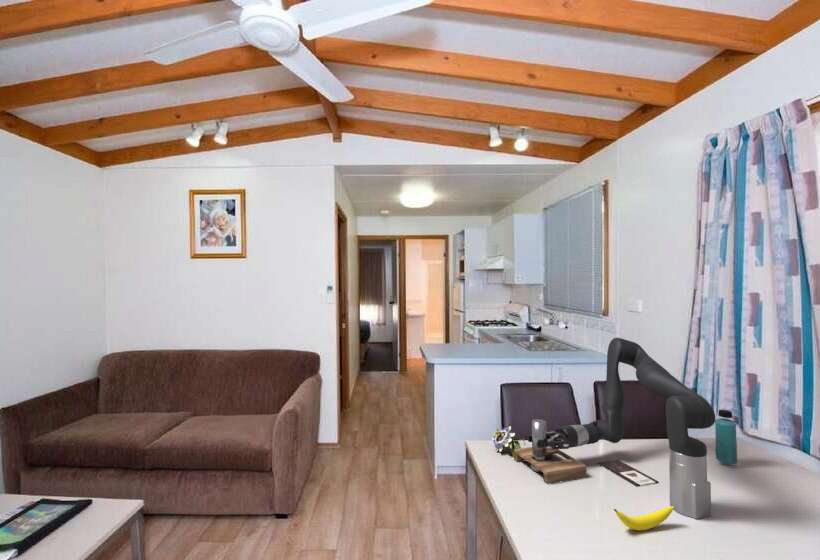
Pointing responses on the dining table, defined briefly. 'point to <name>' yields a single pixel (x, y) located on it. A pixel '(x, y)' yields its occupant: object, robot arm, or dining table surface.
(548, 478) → the keyhole plate
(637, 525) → the banana
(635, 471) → the chocolate bar
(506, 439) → the passion flower
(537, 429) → the keyhole post
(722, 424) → the beverage bottle
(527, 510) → the dining table surface
